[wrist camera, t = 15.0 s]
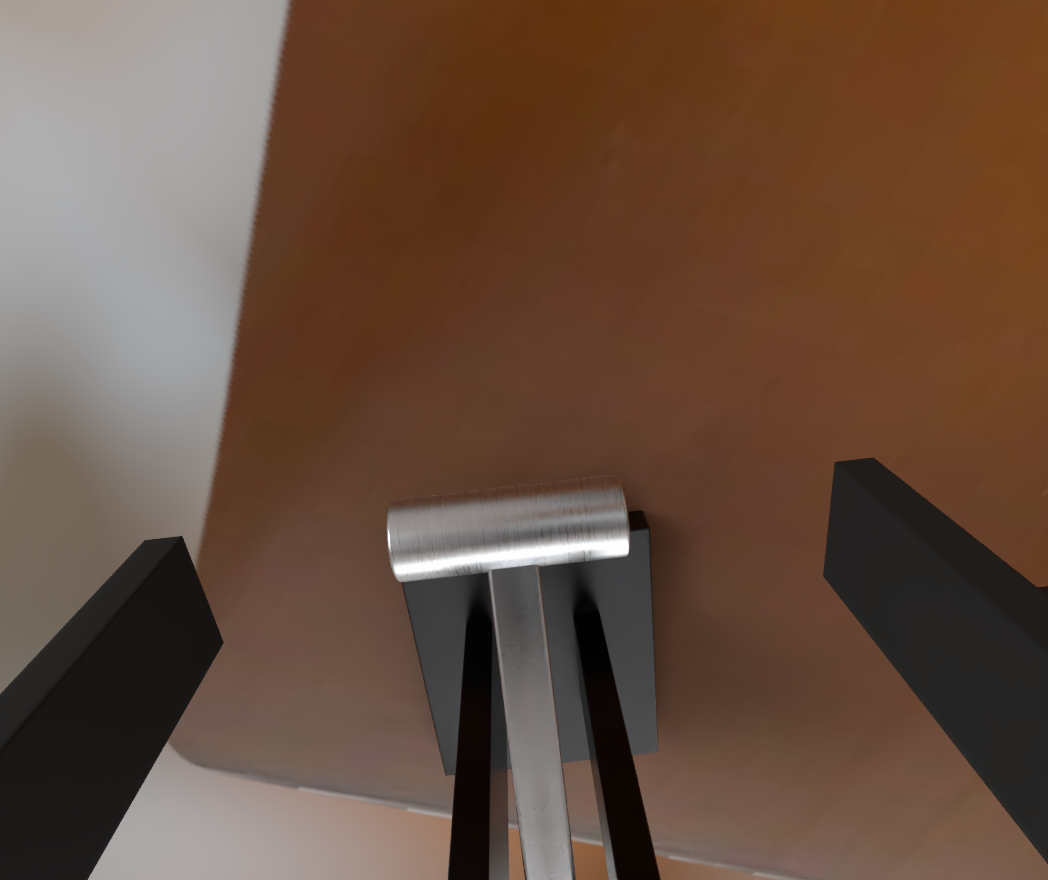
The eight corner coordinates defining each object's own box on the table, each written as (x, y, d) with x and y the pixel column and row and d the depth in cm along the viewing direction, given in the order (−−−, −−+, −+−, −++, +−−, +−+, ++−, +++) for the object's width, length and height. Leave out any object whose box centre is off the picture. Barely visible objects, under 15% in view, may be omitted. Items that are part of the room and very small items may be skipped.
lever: (401, 492, 15) (377, 509, 13) (611, 468, 15) (627, 480, 13) (469, 1016, 16) (459, 1126, 13) (668, 995, 16) (693, 1102, 13)
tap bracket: (400, 537, 23) (284, 973, 11) (642, 509, 23) (814, 915, 11) (447, 750, 28) (404, 1240, 15) (651, 727, 28) (780, 1200, 15)
